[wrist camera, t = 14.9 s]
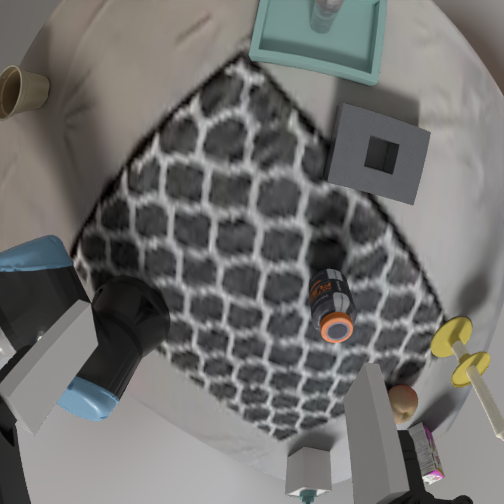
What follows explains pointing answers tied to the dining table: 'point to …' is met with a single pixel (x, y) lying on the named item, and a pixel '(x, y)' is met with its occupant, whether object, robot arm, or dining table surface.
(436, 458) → the candy bar box
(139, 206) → the dining table surface
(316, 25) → the pin
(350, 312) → the pill bottle
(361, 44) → the tray
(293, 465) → the soap bottle
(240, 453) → the dining table surface
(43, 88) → the flower pot
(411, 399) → the fruit
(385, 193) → the block
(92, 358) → the robot arm
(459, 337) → the candle
